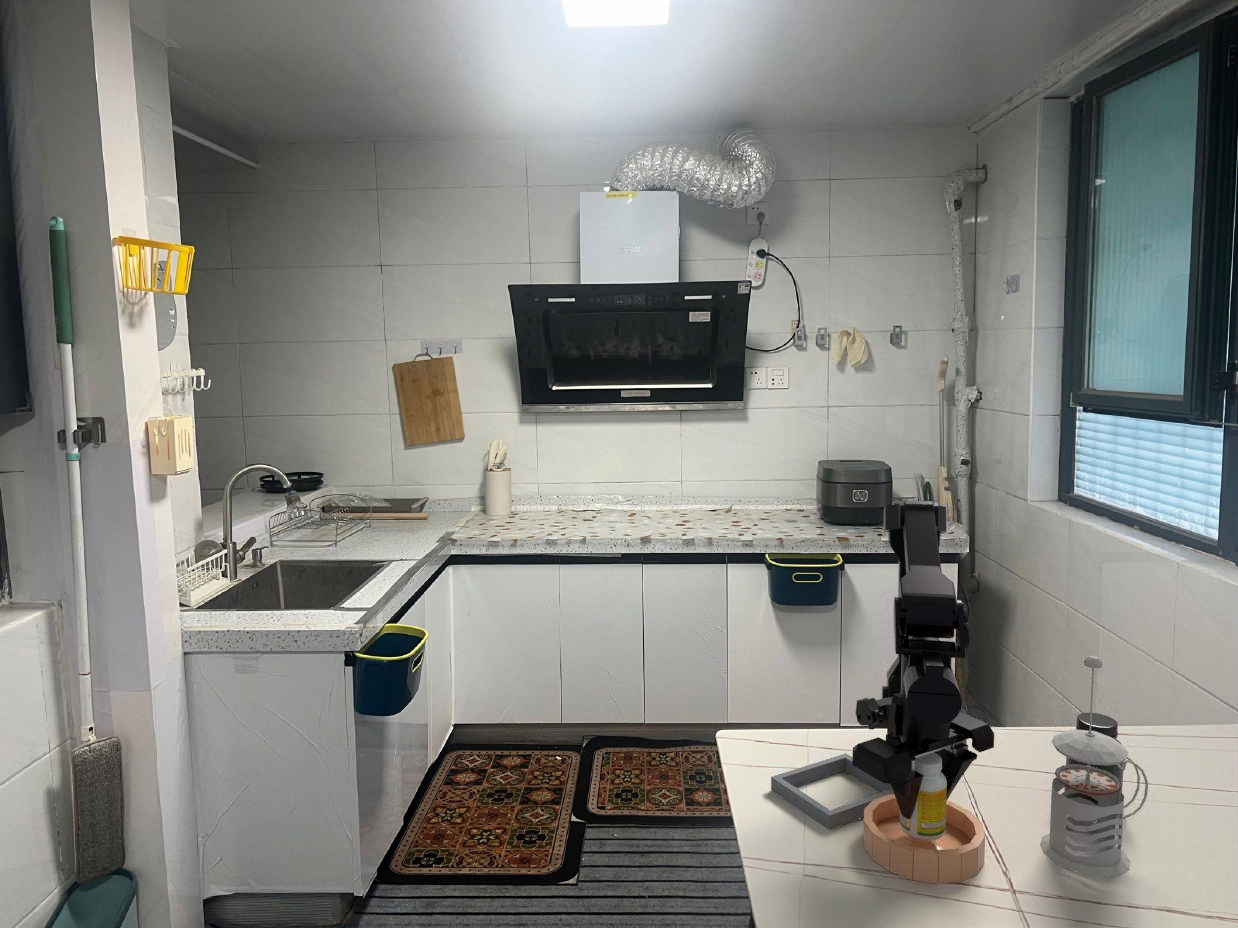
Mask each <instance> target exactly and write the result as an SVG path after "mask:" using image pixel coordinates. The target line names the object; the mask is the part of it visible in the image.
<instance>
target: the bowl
mask: <svg viewBox="0 0 1238 928" xmlns="http://www.w3.org/2000/svg"><path fill="white" fill-rule="evenodd" d="M985 847H986V832H985V829H984V825H983V822H981V821H980V820H979V819H978V817H976V816H975V814H973V812H972V811H970V810H968V809H966V808H964V807H962V806H960V805H959V804H957V803H955V802H953V801H951V800H947V801H946V825H945V834H944V835H943V836H942V837H941V838H940V839H937V840H932V841H929V840H919V839H915V838H912V837H910V836H908V835H907V834H906V833H904V832H903V830H902V829H901V827H900V809H899V806H898V803H897V800H896V797H895V795H894V794H890V795H886V796H883V797H880V798H878V799H875V800H873V801H872V802H871V803H870V804H869V805H868V806H867V807H866V808H865V809H864V818H863V848H864V849H865V851H866V853H867V854H868V855H869V857H870V858H871V859H872V861H874V862H875V863H876V864H878V865H879V866H881V867H883V868H884V869H885V870H887V871H888V872H890V873H893V874H895V875H897V876H900V877H903V878H906V879H909V880H913V881H917V882H924V883H930V884H938V885H939V884H941V885H942V884H950V883H952V884H953V883H961V882H964V881H965V880H967V879H970V878H972V877H975V876H977V875H978V874H979V873H980V871H981V870H982V869H983V866H984V865H985V853H986V850H985V849H986V848H985Z"/></svg>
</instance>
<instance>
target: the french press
mask: <svg viewBox="0 0 1238 928" xmlns="http://www.w3.org/2000/svg"><path fill="white" fill-rule="evenodd" d="M1083 664H1084V667H1087V668H1091V687H1090V709H1089V710H1090V711H1089V713H1090V729H1089V731H1087V730H1076V729H1069V730H1066V731H1063V732H1060V733H1057V734H1055V735H1053V737H1052V739H1051V743H1052V745H1053V747H1054V749H1055V750H1056V751H1057V752H1058V753H1060V754H1062V755H1063V756H1064V757H1065V758H1066V757H1068V758H1071V759H1073V760H1076V761H1079V762H1083V763H1088V765H1087V766H1085V765H1079V764H1078V765H1076V764H1075V765H1074V764H1072V765H1070V764H1069V765H1066V764H1065V765H1060V766H1059V767H1057V768H1056V769H1055V771H1054V776H1055V777H1054V778H1053V779H1052V782H1051V796H1050V798H1051V799H1050V820H1049V823H1050V824H1049V833H1047V834H1046V835H1044V836H1042V837H1041V839H1040V843H1039V846H1040V848H1041V851H1042V853H1043V854H1044V855H1045V856H1046V857H1047V858H1049V860H1051V861H1052V862H1053V863H1055V864H1057V865H1058V866H1061V867H1062V868H1065V869H1067V870H1069V871H1072V872H1075V873H1078V874H1082V875H1085V876H1090V877H1091V876H1092V877H1100V878H1101V877H1102V878H1111V877H1116V876H1122V875H1123V874H1125V873H1127V872H1128V871H1130V867H1131V862H1132V861H1131V859H1130V858H1129V856H1128V854H1127V853H1126V852H1125V851H1124V850H1123V848H1122V844H1123V830H1124V828H1123V827H1124V821H1125V819H1127V818H1129V817H1132V816H1134V815H1136V813H1138V812H1139V811H1140V810H1141V809H1142V808H1143V806H1144V804H1145V803H1146V800H1147V798H1148V790H1149V781H1148V778H1147V776H1146V773H1145V771H1144V770H1143V768H1142V767H1141V766H1139V765H1138V764H1137V763H1135V762H1134V761H1133V760H1132V759H1131V758H1130V757H1128V756H1129V751H1128V750H1127V748H1126V747H1125V746H1124V745H1123V744H1122V743H1121V742H1120V741H1119V742H1120V743H1121V744H1120V743H1119V742H1117V741H1116V740H1115V739H1113V738H1111V737H1109V736H1106V735H1104V734H1101V733H1098V732H1096V731H1091V725H1092V713H1093V704H1094V703H1093V701H1094V699H1093V696H1094V680H1095V679H1094V678H1095V669H1101V668H1102V667H1103V661H1102V659H1100V658H1099V656H1096V655H1089V656H1087V657H1085V658H1084V660H1083ZM1121 762H1124V766H1123V768H1122V767H1121V766H1120V765H1119V763H1121ZM1127 763H1128V764H1129V763H1130V764H1131V765H1133V767H1134V769H1135V772H1136V777H1137V778H1136V779H1137V780H1136V781H1137V783H1136V789H1135V791H1134V794H1133V797H1132V798H1131V799H1130V801H1129V802H1127V803H1126V804H1125V805H1124V803H1125V795H1124V794H1123V792H1122V793H1121V797H1120V804H1117V792H1118V791H1120V790H1121V787H1122V783H1121V782H1120V781H1119V779H1118V778H1117V777H1116V776H1114V775H1112V774H1111V773H1108V772H1106V771H1105V770H1104V771H1103V770H1102V769H1100V768H1099V769H1098V768H1097V767H1096V768H1094V767H1091V766H1090V764H1093V765H1105V766H1107V765H1116V764H1117V766H1118V767H1119V768H1120V769H1122V770H1124V771H1125V770H1126V767H1127ZM1139 771H1140V773H1141V775H1142V776H1143V779H1144V783H1145V787H1144V795H1143V798H1142V800H1141V803H1140V805H1139V807H1137V808H1136V809H1135V810H1134V811H1133V812H1130V813H1128V814H1126V815H1124V809H1127V808H1128V807H1129V806H1130V805H1131V804H1132V803H1133V802H1134V801H1135V800H1136V797H1137V796H1138V793H1139V791H1140V787H1141V786H1140V784H1141V783H1140V782H1141V775H1140V773H1139ZM1065 786H1066V787H1068V788H1070V789H1068V790H1066V791H1065V792H1064V791H1063V792H1062V793H1061V794H1060V793H1059V792H1060V791H1061V790H1063V789H1064V788H1065ZM1122 788H1123V787H1122ZM1073 793H1082V794H1085V795H1088V796H1091V797H1092V798H1094V799H1095V800H1097V801H1098V805H1096V804H1095V803H1093V802H1091V801H1089V800H1086V799H1084V798H1081V797H1074V798H1066V797H1065V796H1066V795H1068V794H1073ZM1078 802H1080V803H1078ZM1082 803H1083V804H1082ZM1116 804H1117V805H1116ZM1118 814H1119V815H1118ZM1117 815H1118V816H1119V818H1117ZM1094 820H1095V821H1096V822H1094ZM1116 825H1118V828H1116ZM1116 835H1117V836H1118V838H1116Z"/></svg>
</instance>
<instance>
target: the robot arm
mask: <svg viewBox="0 0 1238 928" xmlns="http://www.w3.org/2000/svg"><path fill="white" fill-rule="evenodd" d="M883 532H884V533H887V535H888V537H887V539H888V540H887V541H888V544H889V546H890V547H891V549H892V551H893V553H894V554H895V556H896V558H897V559H898V581H897V583H898V588H897V591H898V594H897V596H894V597H893V634H894V652H895V655H897V657H896V658H895V660H894V662H893V663H892V664H891V666H890V667H889V669H888V670H887V672H886V686H884V685H883V686H882V685H881V695H880V698H879V699H876V698H874V697H870V698H868V697H864V698H861V699H857V700H856V706H855V716H856V720H857V722H858V723H859V725H860V726H867V729H869V730H872V731H873V730H875V729H886V734H885V739H884V738H881V737H875V738H873V739H872V738H871V739H869V740H865V741H862V742H860V743H857V744H856V745H855V746H853V747H852V757H853V758H852V765H853V766H855V767H856V768H858V769H860V770H862V771H863V772H865V773H867V774H869V775H870V776H872V777H874V778H876V779H877V780H879V781H881V782H883V783H887V784H891V786H892V789H893V792H894V795H895V797H896V800H897V803H898V806H899V809H900V811H901V814H902V816H903V817H905V818H907V819H910V818H911V816H912V814H913V811H914V808H915V804H916V801H917V797H918V794H919V790H920V787H921V783H922V779H923V775H922V774H920V773H918V772H917V771H915V762H916V758H918V757H921V756H924V755H927V754H930V753H933V752H934V753H936V754H938V755H939V756H940V757H941V759H942V770H941V772H942V773H943V774H944V776H945V778H946V780H947V796H946V801H948V800H949V798H950V796H951V794H952V792H953V791H954V790H955V788H956V787H957V785H958V783H959V781H960V780H961V778H962V777H963V775H965V773H966V771H967V770H968V768H969V767H970V766H971V764H972V763H973V762H974V761H975V760H977V758H978V753H982V752H983V753H984V752H985V751H987V750H991V749H994V748H995V732H994V731H993V729H992V727H991V726H990V724H989V723H987V722H984V721H983V720H980V719H977V718H975V717H973V716H971V715H969V714H967V713H964V712H962V705H963V699H962V698H963V697H962V694H961V692H960V689H959V685H958V683H957V679H956V677H955V673H954V670H953V669H952V659H966V649H969V648H970V634H969V619H968V612H967V610H966V609H965V607H964V603H963V602H962V600H961V599H957V595H956V589H955V583H954V581H953V580H951V579H950V578H949V577H948V576H946V575H945V574H944V573H943V572H942V563H941V557H940V555H941V554H940V545H941V541H940V540H941V534H942V535H943V534H945V533H947V506H943V505H939V504H938V502H935V501H932V500H903V501H901V500H900V501H899V500H897V501H895V500H892V503H891V504H889V505H884V508H883ZM954 637H956V641H949V640H951V639H953V638H954ZM940 639H949V640H948V641H947V640H940ZM956 644H957V645H956ZM969 739H971V747H972V748H973V750H975V751H976V752H978V753H976V752H974V751H972V750H969V744H967V742H968V741H967V740H969Z"/></svg>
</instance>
